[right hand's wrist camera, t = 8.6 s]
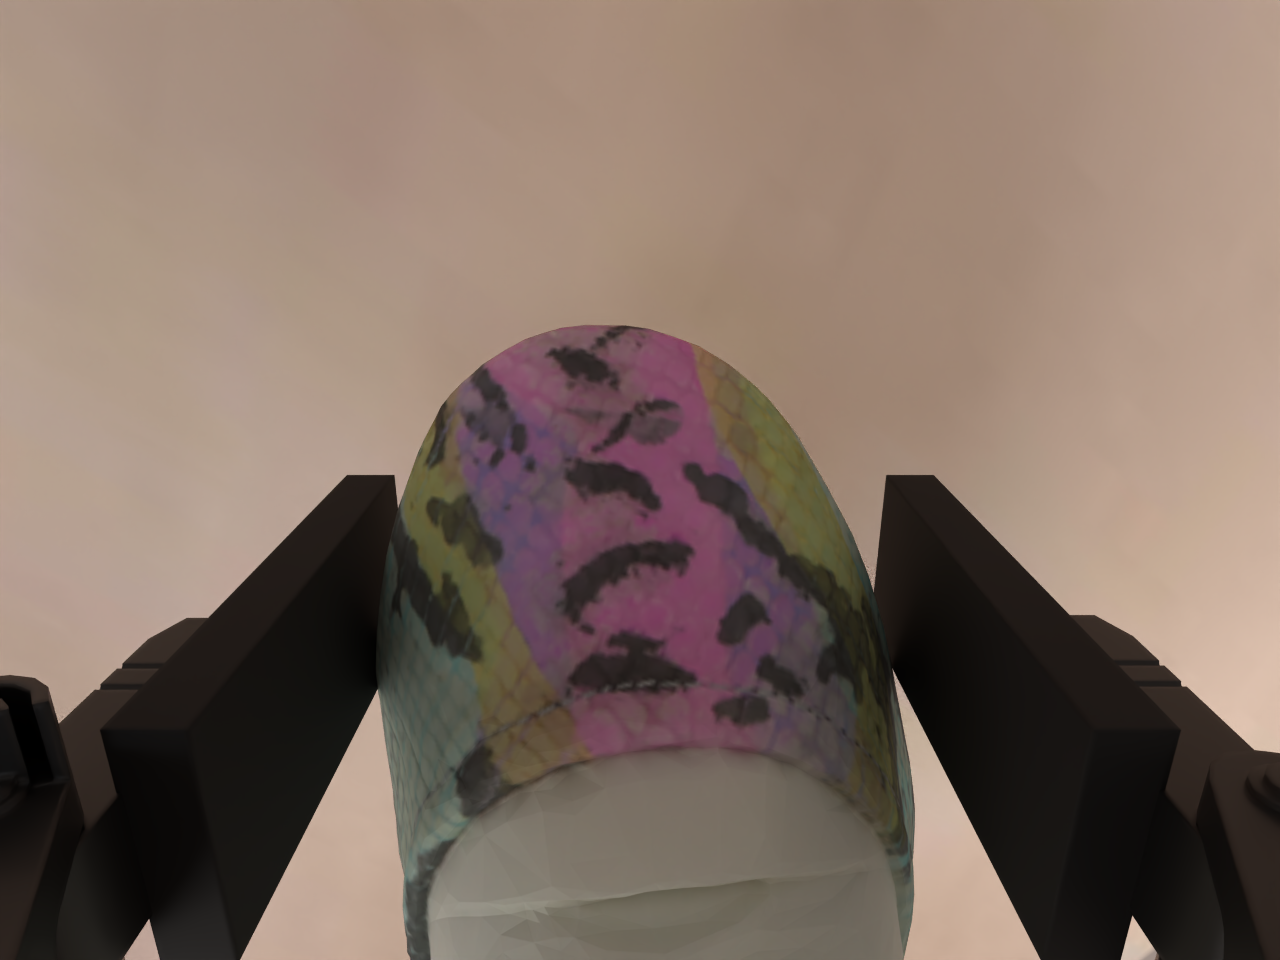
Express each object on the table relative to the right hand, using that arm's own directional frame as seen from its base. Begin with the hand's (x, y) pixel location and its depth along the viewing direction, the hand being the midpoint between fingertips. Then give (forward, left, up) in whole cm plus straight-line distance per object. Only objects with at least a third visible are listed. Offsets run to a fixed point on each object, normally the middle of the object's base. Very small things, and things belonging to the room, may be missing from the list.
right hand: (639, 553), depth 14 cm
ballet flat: (+6, +6, -1) cm, 8 cm away
